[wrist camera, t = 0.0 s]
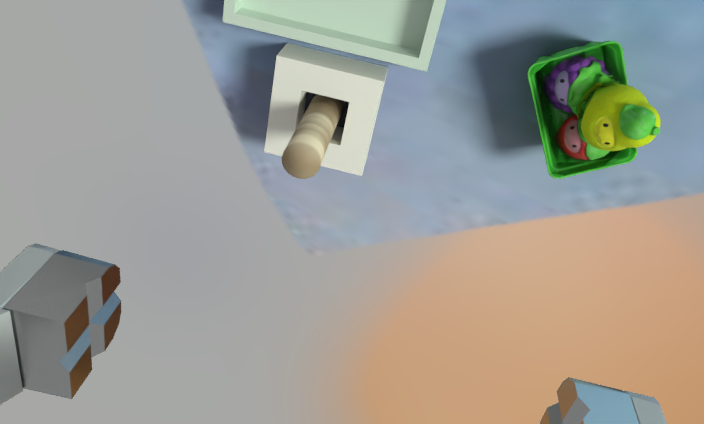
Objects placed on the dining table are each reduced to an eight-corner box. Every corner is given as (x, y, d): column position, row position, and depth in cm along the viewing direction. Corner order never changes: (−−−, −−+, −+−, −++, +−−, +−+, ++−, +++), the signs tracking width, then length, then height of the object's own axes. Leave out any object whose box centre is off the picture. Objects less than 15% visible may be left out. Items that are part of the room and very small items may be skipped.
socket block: (287, 42, 57) (276, 55, 54) (388, 67, 57) (384, 81, 54) (274, 135, 63) (264, 151, 59) (366, 157, 63) (361, 175, 59)
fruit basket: (519, 48, 55) (532, 93, 45) (622, 18, 52) (659, 58, 42) (543, 156, 60) (560, 216, 50) (638, 133, 57) (675, 192, 48)
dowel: (315, 84, 59) (284, 139, 48) (347, 91, 59) (322, 149, 48) (310, 113, 61) (279, 173, 50) (341, 120, 61) (316, 182, 50)
